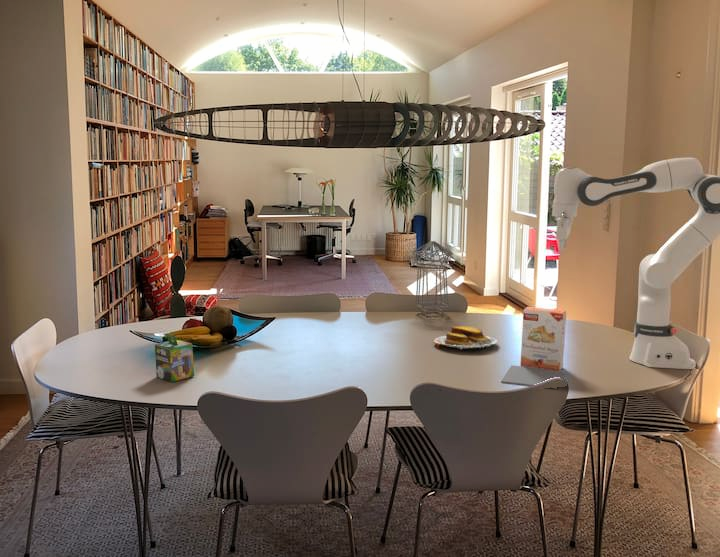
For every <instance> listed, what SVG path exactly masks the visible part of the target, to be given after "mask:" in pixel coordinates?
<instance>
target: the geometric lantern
mask: <svg viewBox="0 0 720 557" xmlns="http://www.w3.org/2000/svg"><path fill="white" fill-rule="evenodd" d="M434 249H435V250H434ZM419 250H420V251H419ZM429 250H430V252H429ZM439 252H441V254H440V253H439ZM411 253H412V254H413V256H414V258H415V259H416V261H417V264H419V262H420V266H417V277H416V296H415V305H416V306H417V307H418V308H419V309H420V310H421V311H420V312H421V314H422V315H423V316H425V317H430V318H431V317H433V315H431V313H437V315H434V317H443V316H444V311H445V310H446V309H447V308H448V307H449V294H448V293H449V292H448V276H447V271H448V269H447V268H446V267H445V266H444V265H443V264H446V262H447V261H448V260H449V257H450V256H451V255H454V253H453V252H452V251H450V250H449V249H447V248H446V247H444V246H443V245H441V244H440V243H438V242H437V241H436V240H431V241H428V242H427V243H425V244H423V245H422V246H420V247H418V248H417V249H415V250H413V251H412V252H411ZM435 256H438V257H439V259H438V260H435ZM422 258H423V261H422V260H421V259H422ZM432 258H433V259H432ZM426 260H430V261H431V263H430V264H429V265H428V267H426V268H425V267H424V263H425V261H426ZM436 262H439V263H440V267H438V266H437V265H436V264H435V263H436ZM432 264H433V265H434V266H432V267H431V265H432ZM428 269H434V270H428ZM428 272H435V299H434V300H435V301H429V290H428V289H429V288H428V287H429V285H428V279H429V278H428ZM438 272H439V291H440V292H439V293H440V298H439V299H440V301H437V297H438V296H437V295H438ZM441 272H442V274H443V275H442V278H443V280H442V278H441ZM425 274H426V302H424V293H425V292H424V290H425V289H424V287H425ZM421 278H422V279H421ZM421 280H422V289H421ZM442 281H443V293H444V302H443V300H442V299H443V298H442ZM421 290H422V292H421ZM420 294H422V295H421V302H420ZM424 304H426V306H424ZM429 304H435V305H434V306H429ZM437 304H439V305H438V306H437ZM441 305H442V306H441ZM443 305H444V306H443ZM441 308H443V309H441ZM430 310H432V311H430Z"/></svg>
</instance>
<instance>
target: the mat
mask: <svg viewBox="0 0 720 557" xmlns="http://www.w3.org/2000/svg"><path fill="white" fill-rule="evenodd" d="M564 372H565V371H564V370H560V371H558V370H549V369H541V368H535V367H528V366H521V365H514V364H513V365H510V367H509V369H508V370H507V372H505V374H504V376H503V377H502V379H501V384H502V383H503V384H512V385H517V386H519V385H520V386H527V387H531V386H530V385H534V384H537V383H540V382H543V381H545V380H547V379H550V378H554V377H560V378H561V379H562V378H563V375H564Z"/></svg>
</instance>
